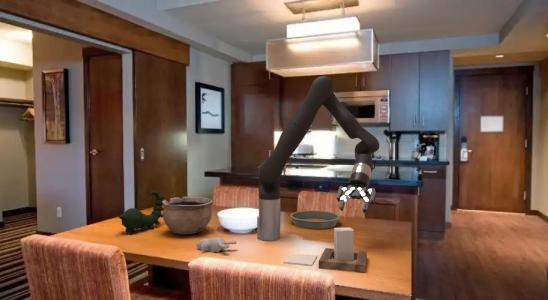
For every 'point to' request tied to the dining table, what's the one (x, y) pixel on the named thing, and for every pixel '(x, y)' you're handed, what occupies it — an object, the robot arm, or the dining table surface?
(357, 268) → the frame
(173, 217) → the ceramic bowl
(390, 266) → the dining table surface
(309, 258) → the ceramic tile
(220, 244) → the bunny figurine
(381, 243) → the dining table surface
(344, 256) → the skincare box
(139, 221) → the toy figurine
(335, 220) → the cake pan
